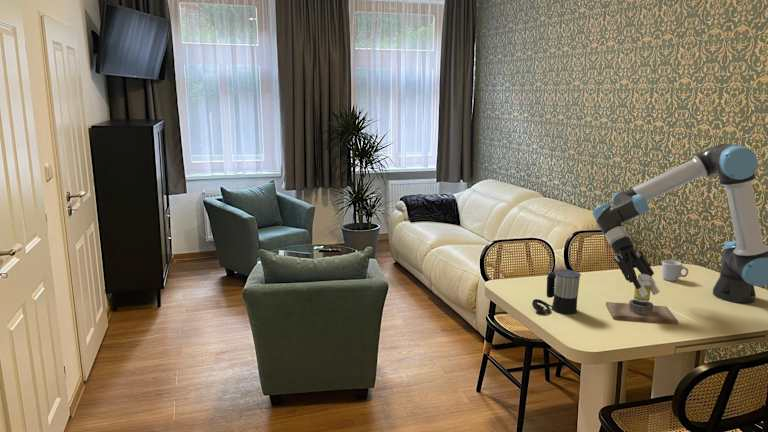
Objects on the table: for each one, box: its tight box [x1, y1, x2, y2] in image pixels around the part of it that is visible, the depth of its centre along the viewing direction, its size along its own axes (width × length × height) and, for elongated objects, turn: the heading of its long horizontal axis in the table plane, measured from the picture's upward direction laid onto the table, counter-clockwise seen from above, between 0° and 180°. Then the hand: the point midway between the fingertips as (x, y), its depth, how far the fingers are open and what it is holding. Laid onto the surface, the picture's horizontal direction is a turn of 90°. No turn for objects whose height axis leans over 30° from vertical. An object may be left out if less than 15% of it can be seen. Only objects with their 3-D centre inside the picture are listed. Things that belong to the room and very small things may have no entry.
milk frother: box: [531, 268, 582, 315], centre depth 219 cm, size 14×16×15 cm
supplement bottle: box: [633, 273, 651, 302], centre depth 216 cm, size 5×5×10 cm
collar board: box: [605, 298, 679, 325], centre depth 218 cm, size 22×14×4 cm, turn 80°
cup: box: [661, 259, 689, 282], centre depth 259 cm, size 11×8×8 cm
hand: (651, 294), depth 213 cm, fingers closed on supplement bottle, 5 cm apart
